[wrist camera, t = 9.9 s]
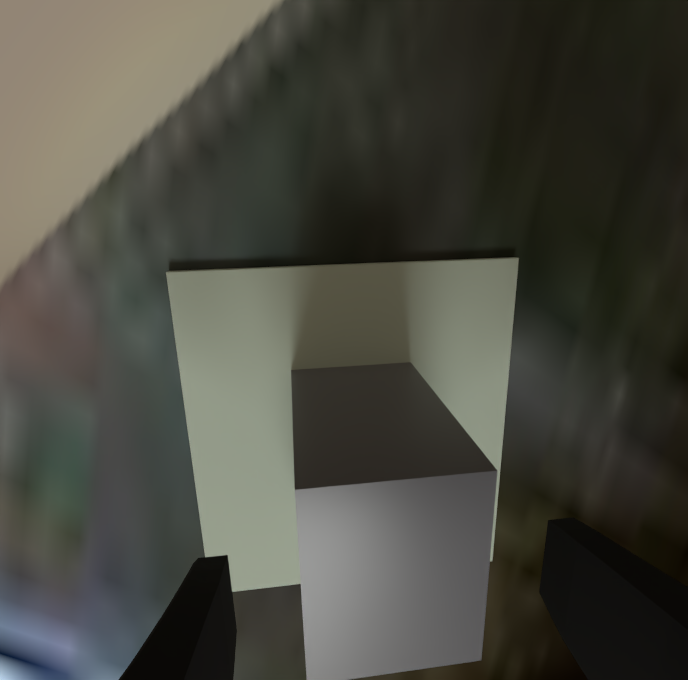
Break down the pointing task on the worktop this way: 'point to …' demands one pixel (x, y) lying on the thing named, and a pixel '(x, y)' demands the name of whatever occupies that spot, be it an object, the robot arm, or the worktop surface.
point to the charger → (387, 523)
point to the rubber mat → (322, 352)
